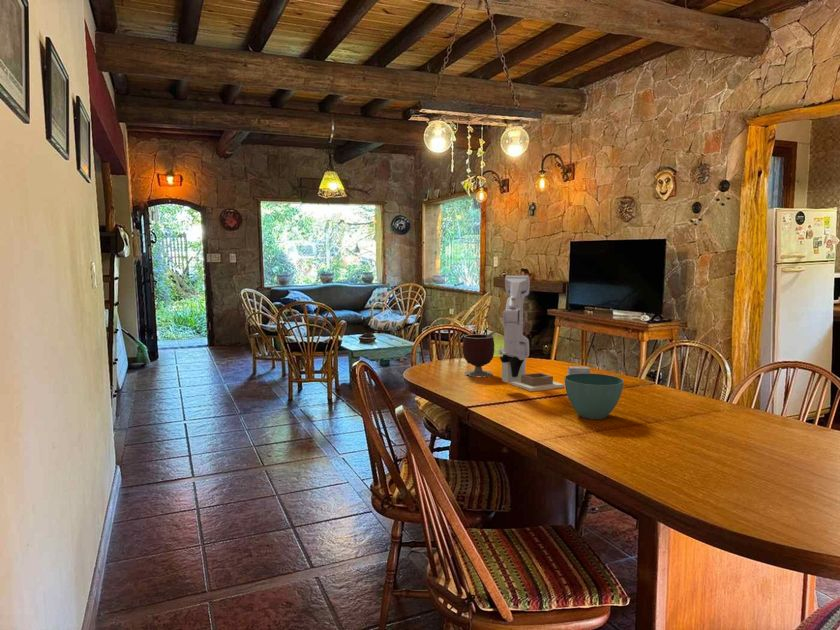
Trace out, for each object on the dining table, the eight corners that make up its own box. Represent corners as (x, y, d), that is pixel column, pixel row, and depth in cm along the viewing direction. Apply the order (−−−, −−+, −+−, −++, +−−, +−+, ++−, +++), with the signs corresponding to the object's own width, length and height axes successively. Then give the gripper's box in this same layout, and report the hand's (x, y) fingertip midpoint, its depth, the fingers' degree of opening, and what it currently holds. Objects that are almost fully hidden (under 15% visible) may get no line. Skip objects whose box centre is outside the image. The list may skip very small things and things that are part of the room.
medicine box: (587, 388, 225) (588, 366, 224) (590, 390, 221) (590, 368, 220) (567, 387, 226) (567, 366, 225) (569, 390, 221) (569, 368, 221)
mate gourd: (459, 376, 248) (459, 331, 246) (466, 370, 262) (466, 327, 260) (495, 378, 244) (495, 332, 242) (500, 372, 257) (500, 328, 255)
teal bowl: (620, 410, 191) (621, 374, 190) (624, 425, 174) (625, 386, 173) (564, 407, 196) (565, 371, 195) (563, 421, 179) (563, 382, 178)
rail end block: (501, 380, 219) (502, 362, 219) (514, 379, 222) (515, 361, 221) (507, 382, 216) (507, 364, 215) (520, 381, 218) (521, 362, 218)
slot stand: (510, 384, 232) (510, 374, 232) (541, 380, 239) (542, 370, 239) (530, 391, 219) (531, 380, 219) (564, 387, 226) (564, 376, 226)
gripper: (492, 338, 222) (492, 373, 223) (514, 343, 209) (513, 380, 210) (507, 337, 225) (507, 371, 226) (529, 342, 212) (529, 378, 213)
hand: (511, 375), depth 219 cm, fingers closed on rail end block, 4 cm apart
